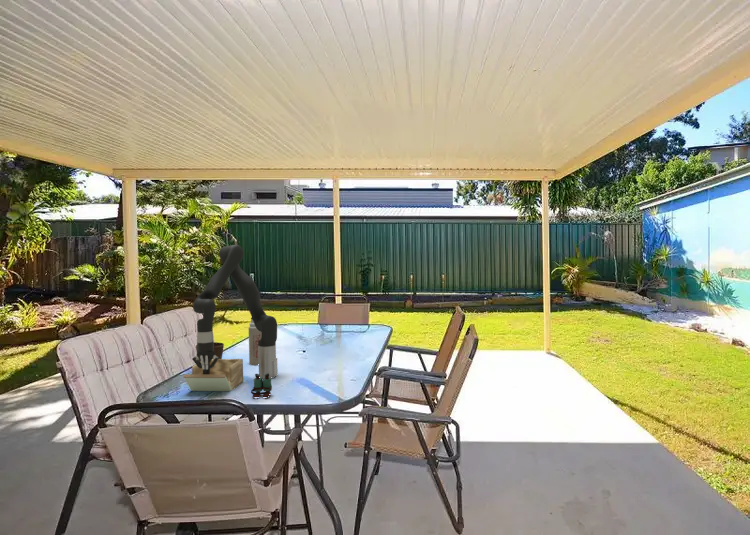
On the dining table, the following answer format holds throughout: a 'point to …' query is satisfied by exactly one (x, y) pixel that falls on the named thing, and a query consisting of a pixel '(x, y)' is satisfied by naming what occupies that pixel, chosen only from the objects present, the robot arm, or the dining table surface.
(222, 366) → the crate
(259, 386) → the binoculars
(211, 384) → the panel
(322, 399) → the dining table surface
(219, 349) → the plant pot
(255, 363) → the thermos bottle
